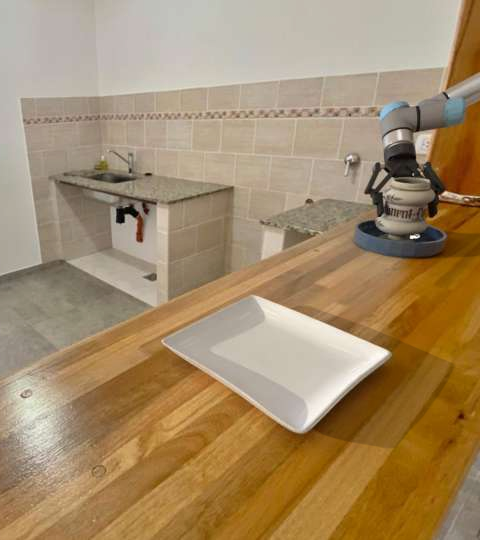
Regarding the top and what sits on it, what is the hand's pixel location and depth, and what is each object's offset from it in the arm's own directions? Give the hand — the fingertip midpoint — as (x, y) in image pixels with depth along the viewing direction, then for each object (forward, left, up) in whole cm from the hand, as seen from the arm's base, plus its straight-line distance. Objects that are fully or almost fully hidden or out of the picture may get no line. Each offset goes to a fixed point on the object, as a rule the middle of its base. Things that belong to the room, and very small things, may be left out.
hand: (406, 215), depth 105 cm
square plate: (+17, +70, -10) cm, 72 cm away
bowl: (+1, -2, -10) cm, 10 cm away
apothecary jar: (+1, -3, -9) cm, 9 cm away
